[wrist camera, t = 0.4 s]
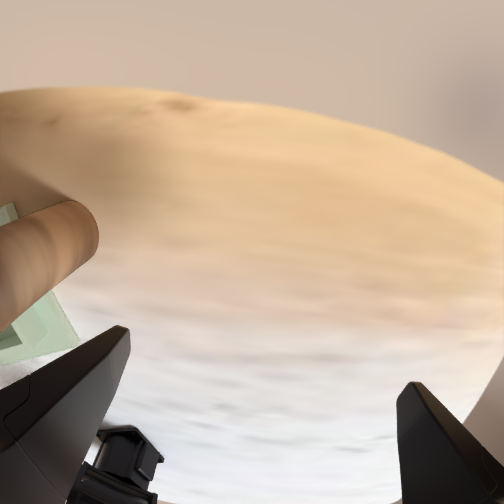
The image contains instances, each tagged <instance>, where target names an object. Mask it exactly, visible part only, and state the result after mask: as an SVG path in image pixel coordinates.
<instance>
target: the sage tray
mask: <svg viewBox="0 0 504 504" xmlns="http://www.w3.org/2000/svg"><path fill="white" fill-rule="evenodd" d="M16 219H19V217H18V214H17V212H16V209H15V206H14V203H13V202H12V203H9V204H6V205H4V206H3V207H1V208H0V226H2V225H4V224H7V223H9V222H11V221H14V220H16ZM79 341H80V339H79V337H78V336H77V334H76V332H75V331H74V329H73V327H72V326H71V324H70V322H69V321H68V319H67V317H66V315H65V314H64V312H63V310H62V308H61V307H60V305H59V303H58V301H57V299H56V297H55V295H54V294H53V292H52V290H50V291H49V292H47V293H46V294H45V295H44V296H43V297H41V298H40V299H39V300H38V301H37V302H35V303H34V304H33V305H32V306H31V307H30V308H28V309H27V310H26V311H25V312H24V313H23V314H21V315H20V316H19V317H18V318H17V319H16V320H15V321H13V322H12V323H11V324H10V325H9V326H8V327H7V328H6V329H5V330H3V331H2V332H1V333H0V366H1V365H5V364H10V363H14V362H18V361H22V360H27V359H31V358H35V357H39V356H43V355H47V354H51V353H55V352H59V351H63V350H67V349H70V348H74V347H76V345H77V344H78V343H79Z"/></svg>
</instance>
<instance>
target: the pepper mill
mask: <svg viewBox="0 0 504 504" xmlns="http://www.w3.org/2000/svg"><path fill="white" fill-rule="evenodd" d="M98 241H99V233H98V227H97V224H96V221H95V219H94V217H93V215H92V214H91V212H90V211H89V210H88V209H87V208H86V207H85V206H83V205H82V204H80V203H78V202H75V201H64V202H61V203H58V204H55V205H53V206H50V207H47V208H44V209H42V210H39V211H37V212H34V213H31V214H29V215H26V216H24V217H21V218H19V219H16V220H14V221H11V222H9V223H7V224H4V225H2V226H0V333H1V332H2V331H3V330H5V329H6V328H7V327H8V326H9V325H10V324H11V323H12V322H13V321H15V320H16V319H17V318H18V317H19V316H20V315H21V314H23V313H24V312H25V311H26V310H27V309H28V308H30V307H31V306H32V305H33V304H34V303H35V302H37V301H38V300H39V299H40V298H41V297H43V296H44V295H45V294H46V293H47V292H49V291H50V290H51V289H52V288H54V287H55V286H56V285H57V284H59V283H60V282H61V281H62V280H64V279H65V278H66V277H67V276H69V275H70V274H71V273H72V272H74V271H75V270H76V269H78V268H79V267H80V266H81V265H83V264H84V263H85V262H87V261H88V260H89V259H90V258H91V257H92V256H93V255H94V253H95V252H96V250H97V246H98Z"/></svg>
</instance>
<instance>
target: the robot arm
mask: <svg viewBox="0 0 504 504" xmlns="http://www.w3.org/2000/svg"><path fill="white" fill-rule="evenodd" d="M130 350H131V345H130V331H129V329H128V328H125V327H122V326H119V325H116V326H114V327H112V328H110V329H109V330H107V331H105V332H103V333H101V334H100V335H98V336H96V337H94V338H93V339H91V340H89V341H87V342H86V343H84V344H82V345H80V346H78V347H77V348H75V349H73V350H71V351H70V352H68V353H66V354H64V355H63V356H61V357H59V358H57V359H56V360H54V361H52V362H50V363H48V364H47V365H45V366H43V367H41V368H40V369H38V370H36V371H34V372H33V373H31V374H30V375H27V376H25V377H24V378H22V379H20V380H18V381H16V382H14V383H13V384H11V385H9V386H7V387H5V388H3V389H0V504H65V502H66V500H67V502H66V504H157V497H158V494H156V493H151V492H149V491H147V490H148V486H149V482H150V481H152V480H153V477H154V473H155V469H156V465H157V463H163V462H164V458H163V457H162V456H161V454H160V453H159V452H158V451H157V450H156V449H155V448H154V447H153V446H152V445H151V444H150V443H149V441H148V440H147V439H146V438H145V437H144V436H143V435H142V434H141V432H140V431H139V430H138V429H136V428H126V429H113V430H98V429H99V427H100V425H101V422H102V420H103V418H104V416H105V414H106V412H107V410H108V408H109V406H110V404H111V402H112V400H113V398H114V396H115V393H116V390H117V388H118V385H119V382H120V379H121V376H122V374H123V371H124V368H125V365H126V363H127V360H128V357H129V355H130ZM396 407H397V442H398V453H399V463H400V474H401V488H402V504H504V467H503V466H502V465H501V464H500V463H499V462H498V461H497V460H496V459H495V458H494V457H493V456H492V455H491V454H490V453H489V452H488V451H487V450H486V449H485V448H484V447H483V446H482V445H481V444H480V442H479V441H478V440H477V439H476V438H475V437H474V436H473V435H472V434H471V433H470V432H469V431H468V430H467V429H466V428H465V427H464V426H463V425H462V424H461V423H460V422H459V421H458V420H457V419H456V418H455V417H454V415H453V414H452V413H451V412H450V411H449V410H448V409H447V408H446V407H445V406H444V405H443V404H442V403H441V402H440V401H439V400H438V399H437V398H436V397H435V396H434V395H433V394H432V393H431V392H430V391H429V390H428V389H427V388H426V387H425V386H424V385H423V384H422V383H421V382H409V383H408V384H407V385H406V387H405V388H404V389H403V391H402V392H401V394H400V395H399V396H398V398H397V402H396ZM95 435H96V436H97V437H98V438H99V439H100V441H101V442H102V444H101V446H100V449H99V451H98V453H97V456H96V458H95V460H94V463H93V465H90V464H89V463H87V462H86V461H84V459H85V456H86V454H87V452H88V450H89V448H90V446H91V443H92V441H93V439H94V437H95ZM83 461H84V463H83ZM82 463H83V465H82ZM81 480H82V481H81Z"/></svg>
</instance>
